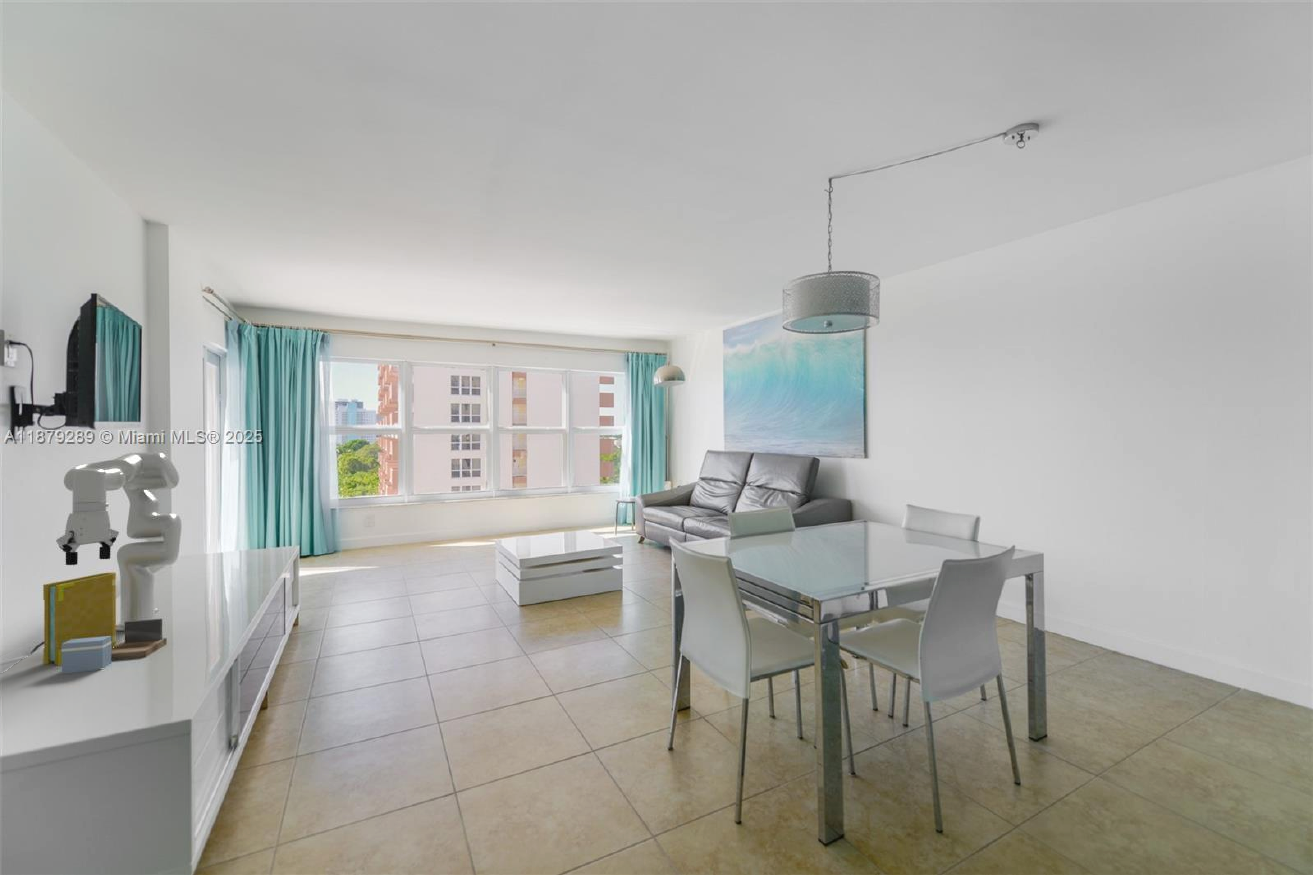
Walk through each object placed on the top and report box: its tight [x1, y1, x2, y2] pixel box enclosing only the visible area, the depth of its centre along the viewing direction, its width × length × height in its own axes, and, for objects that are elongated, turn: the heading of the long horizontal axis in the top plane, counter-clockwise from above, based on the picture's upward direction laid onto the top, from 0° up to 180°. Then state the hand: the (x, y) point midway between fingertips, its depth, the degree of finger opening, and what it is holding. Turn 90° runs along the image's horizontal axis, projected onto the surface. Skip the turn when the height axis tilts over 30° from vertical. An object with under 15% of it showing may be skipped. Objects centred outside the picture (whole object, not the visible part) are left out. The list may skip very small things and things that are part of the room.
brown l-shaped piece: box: [111, 618, 167, 660], centre depth 184 cm, size 12×12×9 cm
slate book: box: [61, 636, 112, 674], centre depth 171 cm, size 4×10×9 cm, turn 107°
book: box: [42, 572, 117, 666], centre depth 183 cm, size 17×7×25 cm, turn 168°
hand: (88, 561), depth 176 cm, fingers open, 9 cm apart
